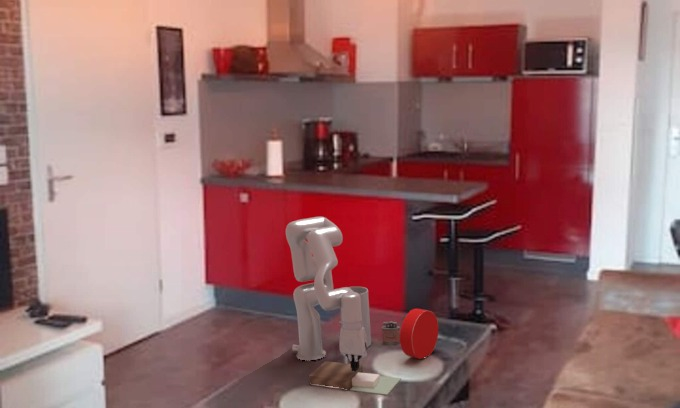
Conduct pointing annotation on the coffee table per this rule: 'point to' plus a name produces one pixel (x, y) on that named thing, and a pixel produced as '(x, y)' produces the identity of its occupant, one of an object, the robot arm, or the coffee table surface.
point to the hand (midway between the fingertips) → (355, 369)
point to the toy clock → (419, 333)
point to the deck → (334, 375)
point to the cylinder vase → (364, 311)
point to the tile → (365, 380)
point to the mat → (379, 386)
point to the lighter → (391, 333)
